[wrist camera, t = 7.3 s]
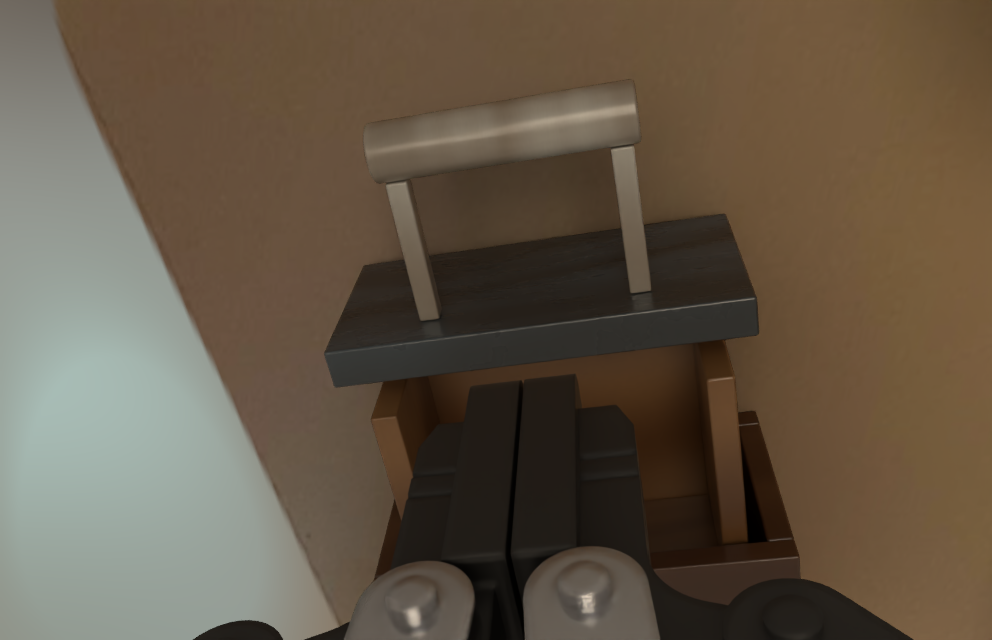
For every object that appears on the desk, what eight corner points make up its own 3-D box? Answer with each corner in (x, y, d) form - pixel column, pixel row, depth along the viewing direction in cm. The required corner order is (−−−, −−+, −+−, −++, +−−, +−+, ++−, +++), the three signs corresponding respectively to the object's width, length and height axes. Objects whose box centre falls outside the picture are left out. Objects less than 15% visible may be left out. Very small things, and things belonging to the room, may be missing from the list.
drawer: (315, 94, 29) (260, 156, 24) (710, 25, 27) (742, 76, 22) (434, 518, 36) (411, 634, 31) (747, 487, 35) (777, 604, 30)
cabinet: (406, 449, 36) (369, 594, 29) (755, 409, 34) (799, 556, 27) (469, 669, 42) (449, 833, 35) (772, 646, 40) (812, 816, 33)
